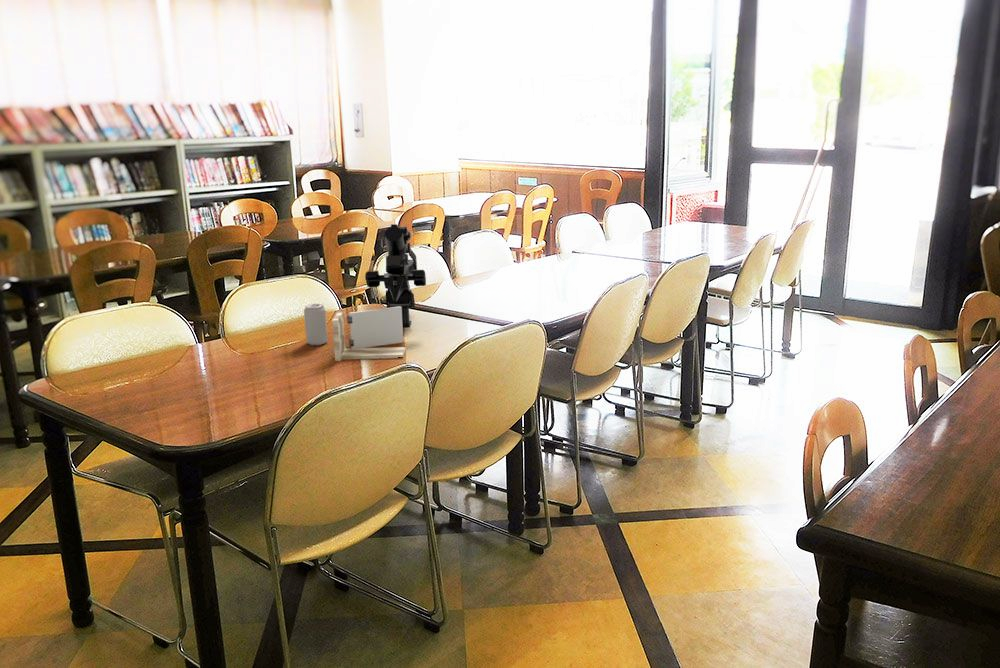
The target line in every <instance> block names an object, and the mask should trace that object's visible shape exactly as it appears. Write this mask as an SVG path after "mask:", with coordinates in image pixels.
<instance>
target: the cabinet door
mask: <svg viewBox="0 0 1000 668" xmlns="http://www.w3.org/2000/svg"><path fill="white" fill-rule="evenodd" d="M346 320H347V321H346V323H347V324H349V335H350V338H348V347H351V348H373V347H378V346H385V345H391V344H399V343H403V342H404V330H403V329H404V327H403V325H402V307H401V306H398V307H390V308H387V307H384V308H383V307H382V308H373V309H367V310H360V311H352V312H348V315H347V316H346Z"/></svg>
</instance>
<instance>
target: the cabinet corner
mask: <svg viewBox="0 0 1000 668" xmlns="http://www.w3.org/2000/svg"><path fill="white" fill-rule="evenodd" d="M344 319H345V318H344V312H343V311H338V312H337V313H336V314H335V315H334V317H333V318H332V320H331V322H332V323H331V324H332V335H333V336H332V337H333V338H332V339H333V350H334V362H341V361H342V360H366V359H367V360H368V359H369V360H371V359H373V360H374V359H376V360H377V359H379V360H380V358H381V359H399V358H398V357H403V356H404V357H405V354H404V353H405V352H406V346H399V347H398V346H397V347H394V346H393V347H365V348H346V347H347V345H346V332H345V320H344ZM404 357H403V358H404Z"/></svg>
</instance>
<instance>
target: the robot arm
mask: <svg viewBox="0 0 1000 668" xmlns="http://www.w3.org/2000/svg"><path fill="white" fill-rule="evenodd" d="M411 238H412V233H411V231H410V230H409V229H408V227H407V226H398V224H396V223H395V224H390V226H388V227H387V229H386V230H385V231H384V235H383V239H384V242H385V244H386V248H387V256H385V273H383V274H380V273H379V270H367V271H366V272H365V276H364V278H365V279H364V280H365V282H366V286H367V288H378V287H380V285H381V283H382V282H383V284H384V289H386V290H385V301H386V302H385V303H386V308H390V307H398V306H401V307H402V325H403V328H406V327H409V328H410V327H411V325H412V320H410V309H413V308H415V307H416V305H415V303H416V301H415V295H414V293H413V291H412V290H413V289H411V286H410V282H411V281H413V284H414V286H415V287H424V286H426V285H427V276H426V271H425V270H424V269H418V262H417V261H418V260H417V255H416V254H415V253H414V251H413V250H412V248H411V247H412V246H411V242H410V240H411ZM409 257H410V258H411V259H409Z"/></svg>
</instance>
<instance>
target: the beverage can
mask: <svg viewBox="0 0 1000 668" xmlns="http://www.w3.org/2000/svg"><path fill="white" fill-rule="evenodd" d="M303 314H304V315H303V316H304V325H305V326H304V327H305V328H304V329H305V336H306V339H305V340H306V343H307V344H309V345H310V346H314V345H316V346H322V344H323V345H325V344H327V342H328V340H329V338H328V337H329V336H328V326H327V316H326V315H327V313H326V308H325V305H324V304H323V303H311V304H310V303H309V304H306V305H305V306H304V310H303Z"/></svg>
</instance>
